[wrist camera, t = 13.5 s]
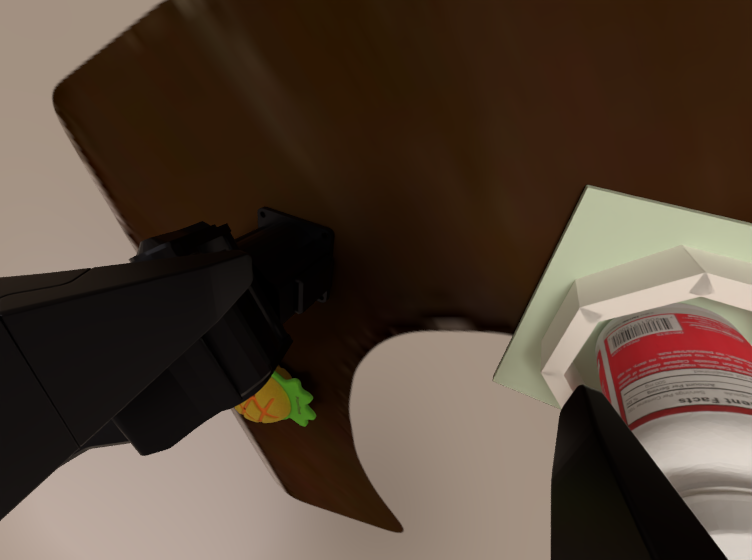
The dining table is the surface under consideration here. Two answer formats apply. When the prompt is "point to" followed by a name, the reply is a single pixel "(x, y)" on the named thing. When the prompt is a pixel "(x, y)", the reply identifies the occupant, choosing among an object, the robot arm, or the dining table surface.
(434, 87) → the dining table surface
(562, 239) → the octagonal tray
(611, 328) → the pill bottle
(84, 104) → the dining table surface
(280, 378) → the toy pineapple
